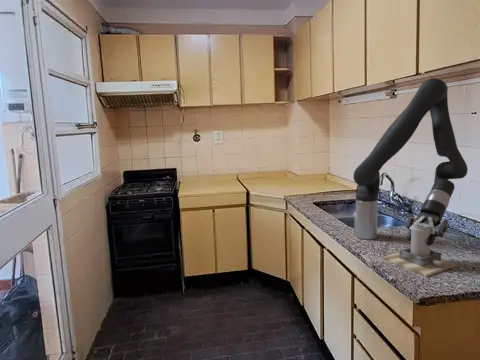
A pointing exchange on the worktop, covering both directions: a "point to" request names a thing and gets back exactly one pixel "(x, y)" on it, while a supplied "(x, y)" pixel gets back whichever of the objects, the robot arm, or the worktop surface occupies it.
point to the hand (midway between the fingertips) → (418, 242)
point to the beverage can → (420, 239)
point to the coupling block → (419, 262)
